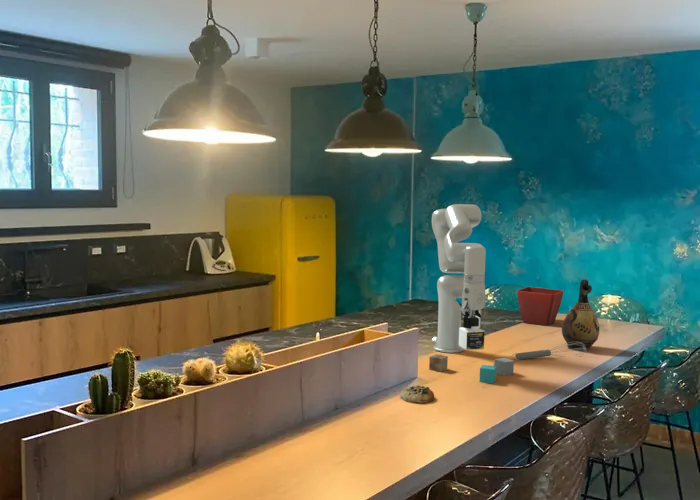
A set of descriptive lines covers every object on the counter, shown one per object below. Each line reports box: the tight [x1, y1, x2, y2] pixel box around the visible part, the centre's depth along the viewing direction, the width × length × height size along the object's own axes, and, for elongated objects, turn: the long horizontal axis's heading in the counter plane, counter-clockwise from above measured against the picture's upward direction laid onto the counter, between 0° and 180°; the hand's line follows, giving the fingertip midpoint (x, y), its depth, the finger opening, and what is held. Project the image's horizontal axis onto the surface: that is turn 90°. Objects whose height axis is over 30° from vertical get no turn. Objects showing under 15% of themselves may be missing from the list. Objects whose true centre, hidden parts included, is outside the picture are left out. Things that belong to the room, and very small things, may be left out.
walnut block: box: [428, 354, 449, 373], centre depth 257 cm, size 5×5×5 cm
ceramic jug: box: [561, 278, 600, 352], centre depth 296 cm, size 17×15×30 cm
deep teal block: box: [479, 364, 497, 384], centre depth 243 cm, size 5×5×5 cm
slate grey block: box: [493, 357, 515, 377], centre depth 254 cm, size 5×5×5 cm
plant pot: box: [516, 286, 565, 326], centre depth 352 cm, size 19×19×17 cm
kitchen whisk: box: [511, 342, 588, 361], centre depth 279 cm, size 6×34×6 cm, turn 106°
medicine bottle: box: [459, 314, 485, 351], centre depth 255 cm, size 7×7×12 cm
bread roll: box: [399, 385, 435, 404], centre depth 221 cm, size 11×11×5 cm
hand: (472, 326), depth 255 cm, fingers closed on medicine bottle, 6 cm apart
